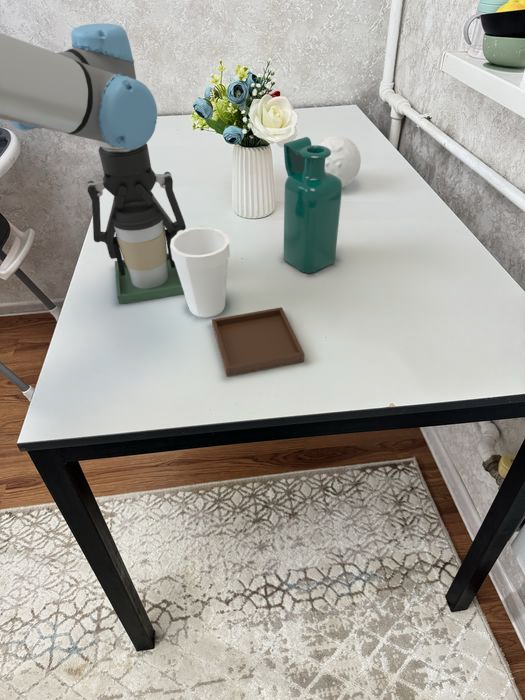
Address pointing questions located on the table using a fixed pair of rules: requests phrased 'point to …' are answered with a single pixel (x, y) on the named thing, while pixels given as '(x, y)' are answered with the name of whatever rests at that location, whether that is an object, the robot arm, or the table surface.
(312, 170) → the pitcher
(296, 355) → the walnut tray
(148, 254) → the coffee cup
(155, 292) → the sage tray
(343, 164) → the decorative ball
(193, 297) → the foam cup
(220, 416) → the table surface
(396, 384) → the table surface
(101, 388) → the table surface
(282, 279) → the table surface
